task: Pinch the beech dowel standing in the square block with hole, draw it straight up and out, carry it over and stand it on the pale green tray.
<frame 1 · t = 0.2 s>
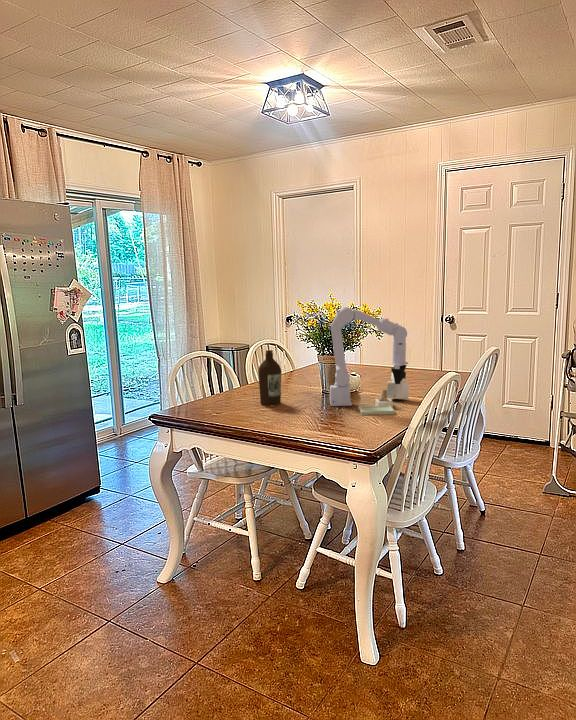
hand: (398, 382, 244), 10 cm above the table, tool pointing down, fingers open, 7 cm apart
dowel: (383, 398, 240), in the square block with hole
olive oil: (270, 404, 250), on the table
container: (397, 398, 251), point 1 cm above the table
tray: (376, 411, 232), on the table
square block with hole: (383, 406, 241), on the table
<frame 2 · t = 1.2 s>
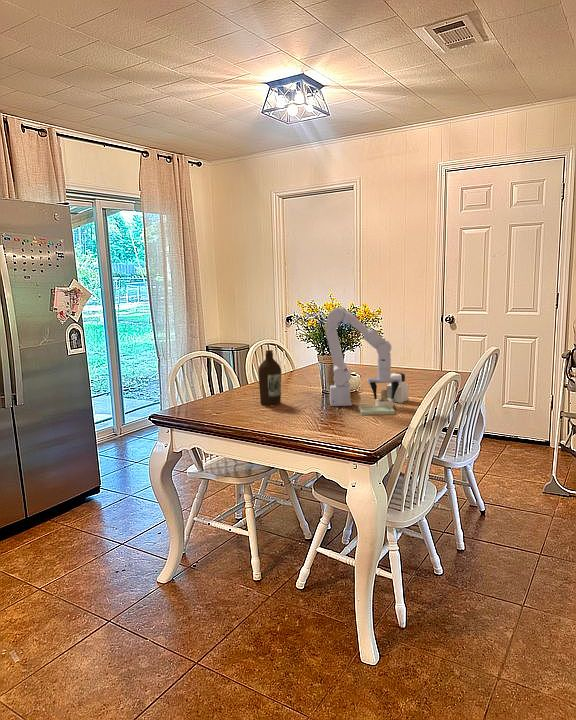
hand: (384, 398, 240), 3 cm above the table, tool pointing down, fingers open, 7 cm apart
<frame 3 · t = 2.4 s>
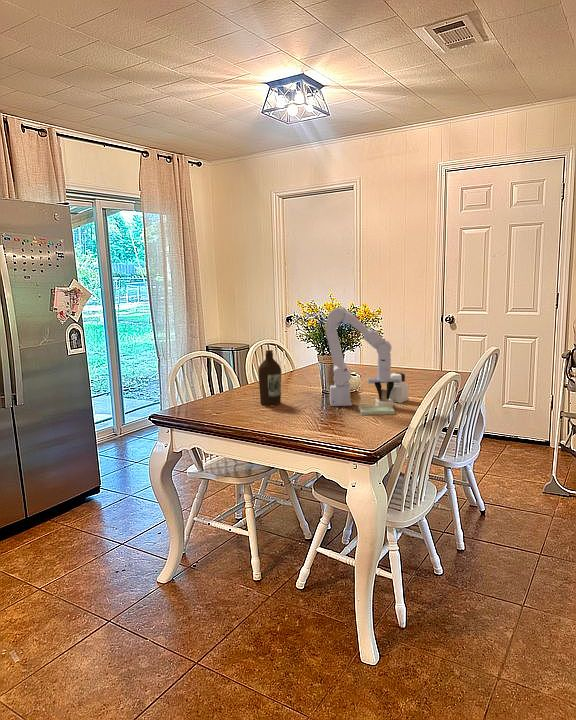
hand: (383, 398, 240), 3 cm above the table, tool pointing down, fingers closed on dowel, 3 cm apart
dowel: (383, 398, 240), in the square block with hole, touching gripper
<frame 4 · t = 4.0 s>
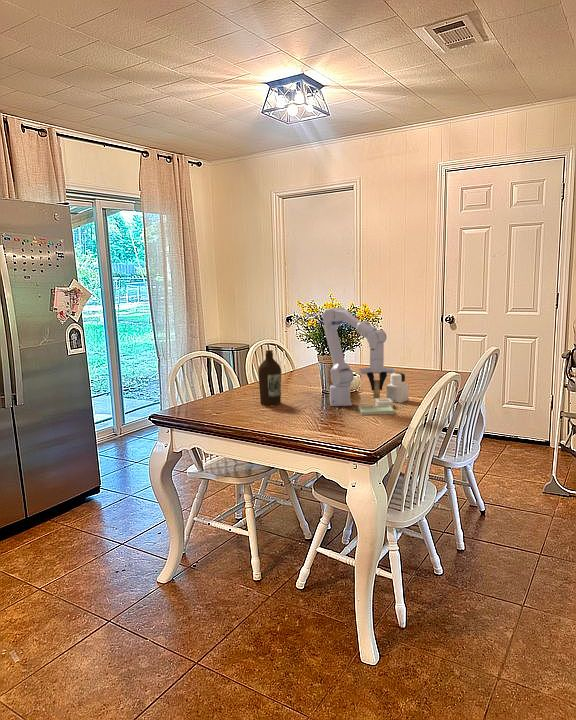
hand: (376, 389, 231), 9 cm above the table, tool pointing down, fingers closed on dowel, 3 cm apart
dowel: (376, 389, 231), point 10 cm above the table, touching gripper
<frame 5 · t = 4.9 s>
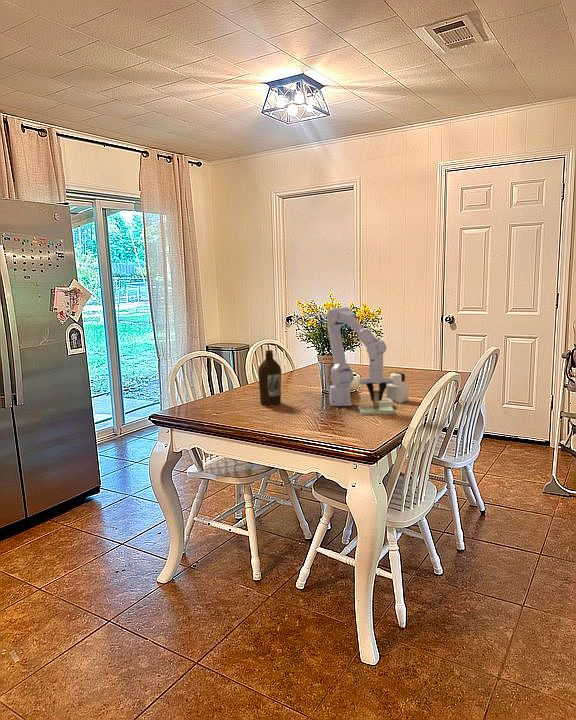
hand: (376, 400, 231), 5 cm above the table, tool pointing down, fingers closed on dowel, 3 cm apart
dowel: (376, 399, 231), point 5 cm above the table, touching gripper
when the fingers open (5 cm above the table, at t = 5.6 s): dowel stays where it is, resting on tray.
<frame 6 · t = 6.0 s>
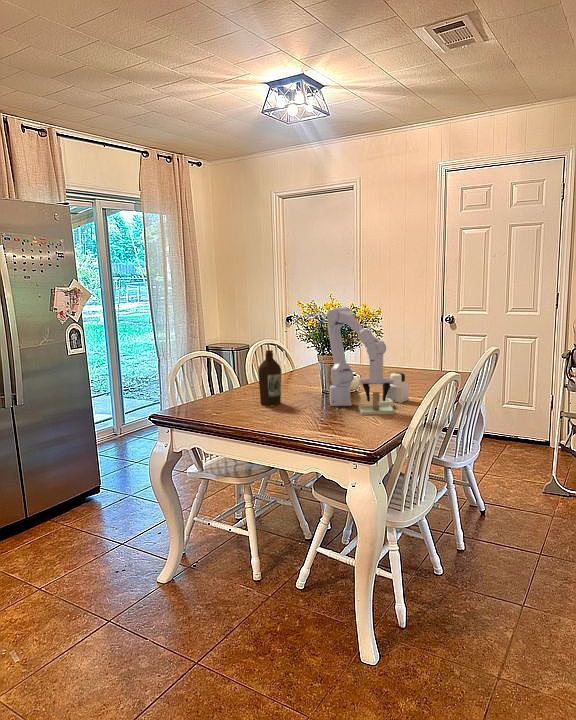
hand: (376, 400, 231), 5 cm above the table, tool pointing down, fingers open, 6 cm apart
dowel: (376, 401, 231), point 5 cm above the table, touching tray
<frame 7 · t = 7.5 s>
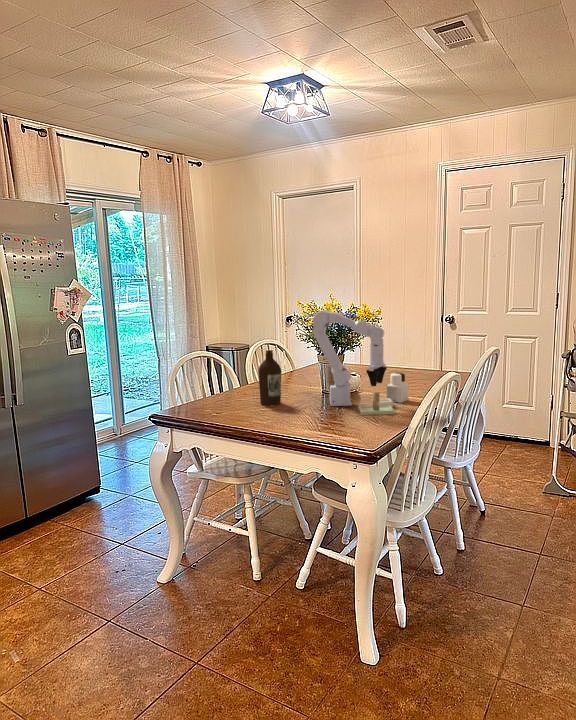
hand: (376, 384, 240), 10 cm above the table, tool pointing down, fingers open, 7 cm apart
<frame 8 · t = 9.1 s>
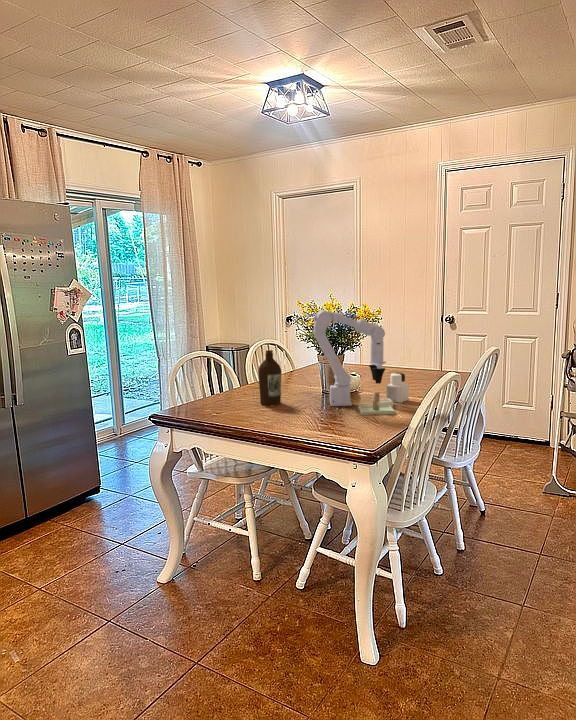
hand: (376, 381, 246), 10 cm above the table, tool pointing down, fingers open, 7 cm apart
at the end: dowel inside the target area on the tray (0.1 cm from its centre), point 4.6 cm above the tray's base; dowel tilted 0°; the gripper is holding nothing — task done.
